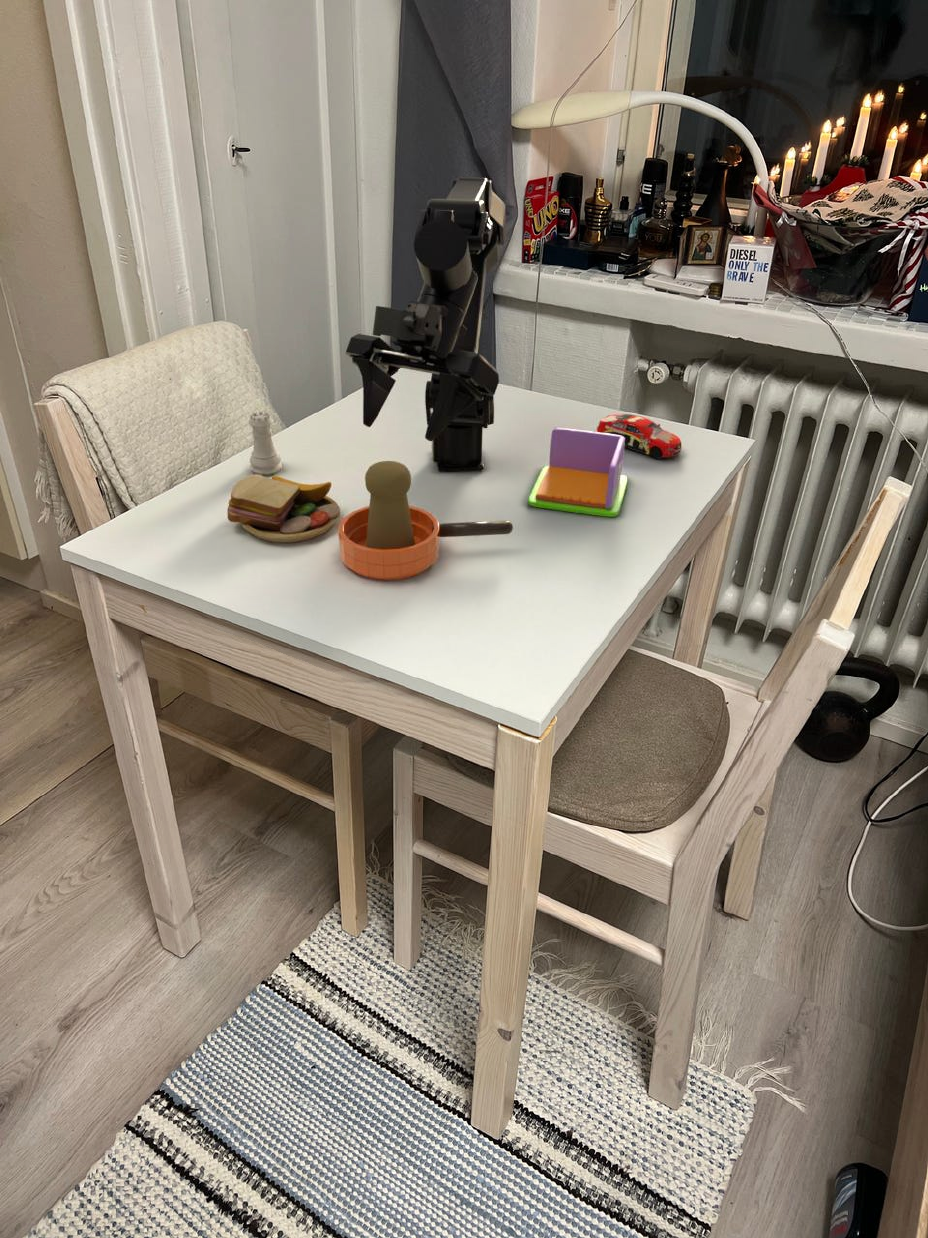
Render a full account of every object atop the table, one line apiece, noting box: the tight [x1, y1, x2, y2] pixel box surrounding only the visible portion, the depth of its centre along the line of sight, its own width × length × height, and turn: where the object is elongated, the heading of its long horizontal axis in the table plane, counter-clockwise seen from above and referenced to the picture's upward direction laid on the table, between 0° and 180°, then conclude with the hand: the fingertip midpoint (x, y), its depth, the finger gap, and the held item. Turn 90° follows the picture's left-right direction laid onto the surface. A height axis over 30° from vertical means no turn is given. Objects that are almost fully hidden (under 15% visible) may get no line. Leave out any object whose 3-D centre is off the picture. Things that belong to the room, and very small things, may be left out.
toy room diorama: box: [527, 427, 628, 518], centre depth 121 cm, size 12×12×7 cm
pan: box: [338, 504, 440, 581], centre depth 108 cm, size 12×12×4 cm
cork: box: [364, 460, 415, 550], centre depth 105 cm, size 6×6×11 cm
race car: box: [596, 413, 682, 460], centre depth 135 cm, size 13×5×4 cm, turn 49°
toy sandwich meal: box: [226, 473, 341, 543], centre depth 114 cm, size 12×14×5 cm
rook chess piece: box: [247, 410, 283, 476], centre depth 126 cm, size 4×4×8 cm
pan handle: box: [432, 520, 514, 538], centre depth 108 cm, size 10×2×2 cm, turn 97°
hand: (396, 432), depth 107 cm, fingers open, 9 cm apart
